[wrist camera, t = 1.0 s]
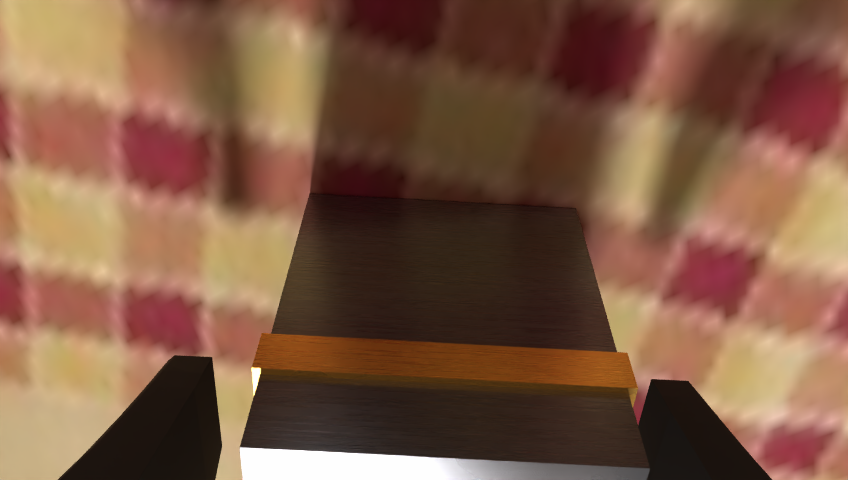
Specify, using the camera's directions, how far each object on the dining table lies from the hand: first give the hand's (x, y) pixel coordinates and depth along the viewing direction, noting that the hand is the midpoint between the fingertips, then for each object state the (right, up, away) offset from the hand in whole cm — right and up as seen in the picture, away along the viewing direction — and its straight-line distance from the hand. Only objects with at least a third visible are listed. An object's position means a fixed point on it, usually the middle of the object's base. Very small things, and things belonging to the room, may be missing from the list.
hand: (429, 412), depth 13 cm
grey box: (0, +2, +2) cm, 3 cm away
